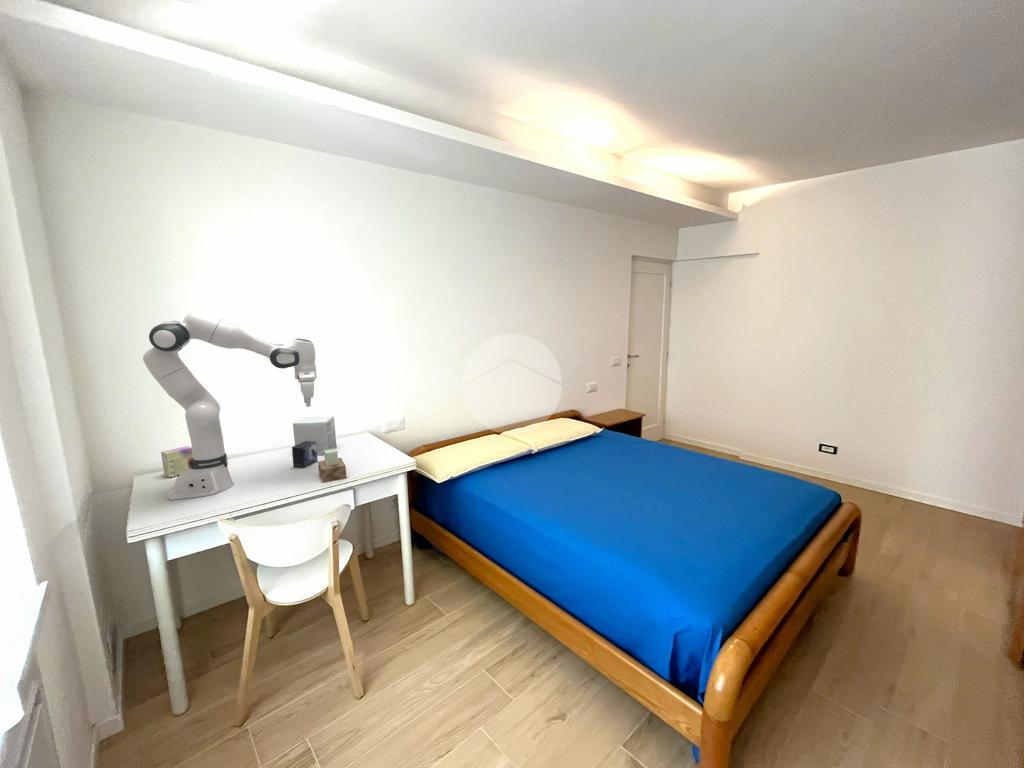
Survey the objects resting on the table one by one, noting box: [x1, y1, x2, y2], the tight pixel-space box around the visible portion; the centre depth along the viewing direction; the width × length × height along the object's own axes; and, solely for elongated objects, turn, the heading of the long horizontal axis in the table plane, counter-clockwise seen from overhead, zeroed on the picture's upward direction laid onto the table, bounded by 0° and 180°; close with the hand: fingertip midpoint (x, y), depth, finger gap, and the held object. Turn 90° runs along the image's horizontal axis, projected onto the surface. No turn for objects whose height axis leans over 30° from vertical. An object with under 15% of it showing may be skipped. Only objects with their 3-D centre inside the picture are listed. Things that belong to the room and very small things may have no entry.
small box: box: [291, 441, 319, 469], centre depth 209 cm, size 11×6×10 cm, turn 168°
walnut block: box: [317, 457, 347, 483], centre depth 194 cm, size 10×12×6 cm
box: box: [160, 445, 193, 479], centre depth 198 cm, size 10×6×12 cm, turn 149°
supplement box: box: [292, 415, 338, 456], centre depth 227 cm, size 17×13×18 cm
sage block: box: [323, 448, 339, 466], centre depth 193 cm, size 5×5×6 cm
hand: (307, 404), depth 193 cm, fingers open, 8 cm apart
